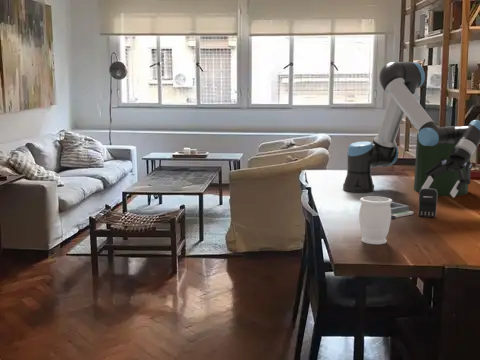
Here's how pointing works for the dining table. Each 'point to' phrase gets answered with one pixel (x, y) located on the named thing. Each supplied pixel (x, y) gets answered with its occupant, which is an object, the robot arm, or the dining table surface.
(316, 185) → the dining table surface
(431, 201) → the black rounded block
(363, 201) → the jar
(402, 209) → the panel board
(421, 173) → the flower pot
